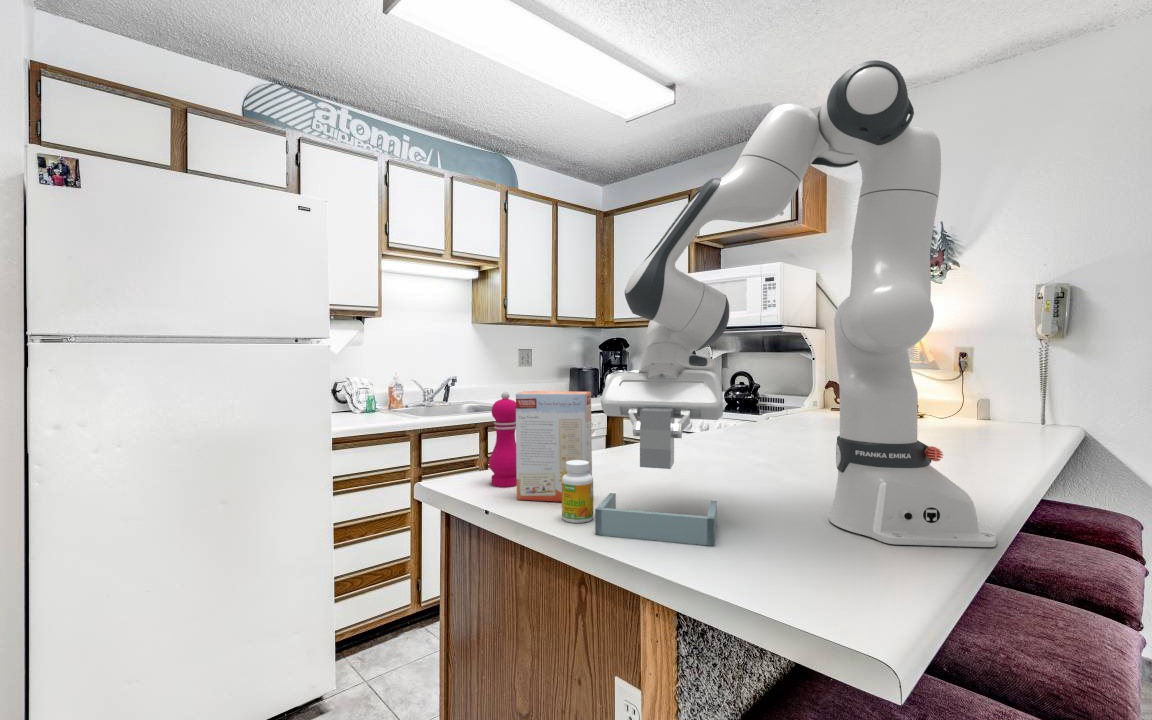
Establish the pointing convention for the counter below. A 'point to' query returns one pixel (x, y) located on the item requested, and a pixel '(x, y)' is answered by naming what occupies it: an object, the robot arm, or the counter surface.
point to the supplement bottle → (577, 492)
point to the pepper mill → (504, 443)
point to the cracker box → (550, 440)
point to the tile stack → (656, 438)
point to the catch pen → (655, 524)
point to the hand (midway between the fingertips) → (656, 435)
